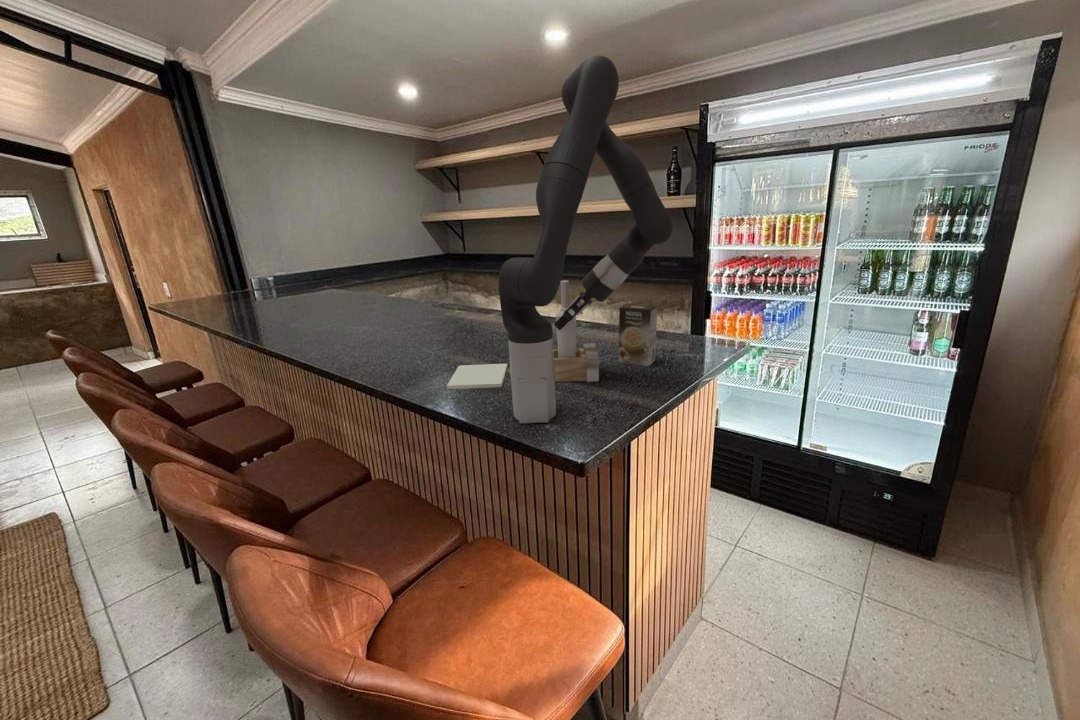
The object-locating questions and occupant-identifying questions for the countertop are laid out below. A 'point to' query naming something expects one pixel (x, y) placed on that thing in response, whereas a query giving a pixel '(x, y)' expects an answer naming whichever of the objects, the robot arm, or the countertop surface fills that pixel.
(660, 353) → the countertop surface
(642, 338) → the coffee box
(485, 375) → the sage board
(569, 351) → the bottle
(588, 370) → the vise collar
